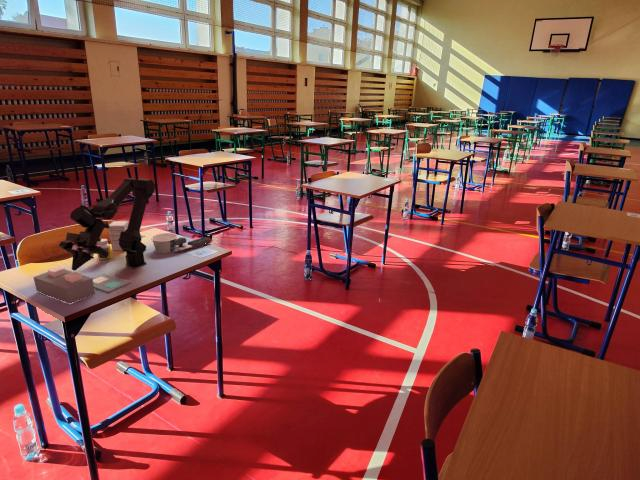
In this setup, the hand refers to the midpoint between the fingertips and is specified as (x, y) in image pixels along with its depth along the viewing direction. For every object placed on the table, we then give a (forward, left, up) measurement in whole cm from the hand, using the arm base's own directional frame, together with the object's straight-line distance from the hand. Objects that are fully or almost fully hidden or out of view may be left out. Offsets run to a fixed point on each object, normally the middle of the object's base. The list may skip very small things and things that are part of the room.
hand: (73, 270), depth 155 cm
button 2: (+1, 0, -6) cm, 6 cm away
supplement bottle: (-20, -27, -10) cm, 35 cm away
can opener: (-57, -15, -11) cm, 60 cm away
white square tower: (-32, -38, -10) cm, 51 cm away
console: (+3, -4, -10) cm, 11 cm away
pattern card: (-11, -2, -10) cm, 15 cm away
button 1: (+3, -9, -6) cm, 11 cm away
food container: (-46, -21, -10) cm, 52 cm away
